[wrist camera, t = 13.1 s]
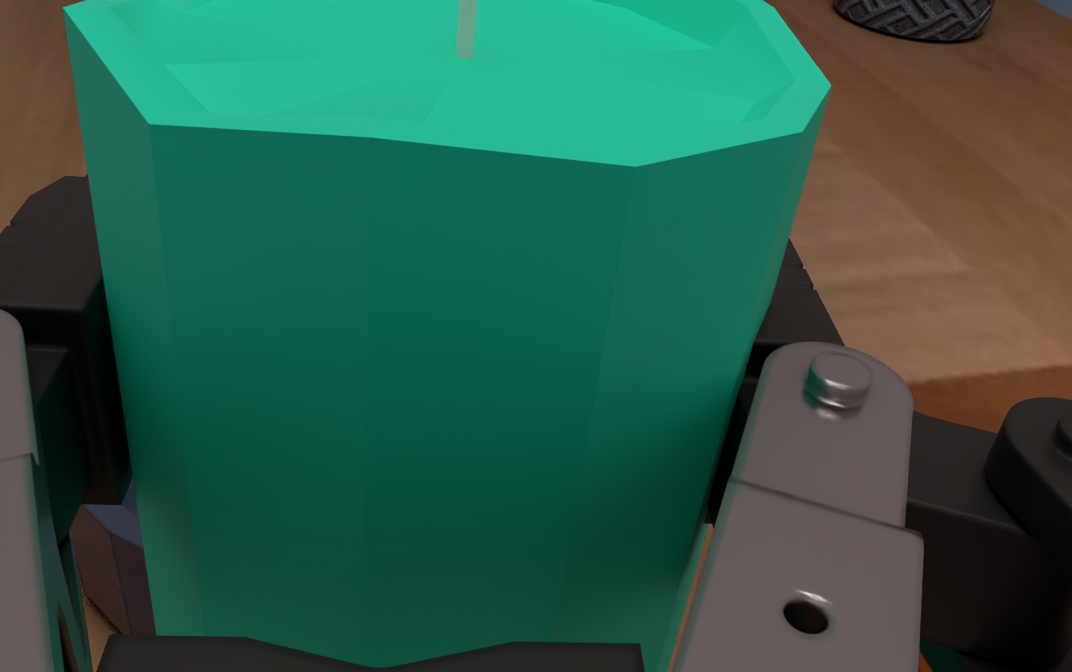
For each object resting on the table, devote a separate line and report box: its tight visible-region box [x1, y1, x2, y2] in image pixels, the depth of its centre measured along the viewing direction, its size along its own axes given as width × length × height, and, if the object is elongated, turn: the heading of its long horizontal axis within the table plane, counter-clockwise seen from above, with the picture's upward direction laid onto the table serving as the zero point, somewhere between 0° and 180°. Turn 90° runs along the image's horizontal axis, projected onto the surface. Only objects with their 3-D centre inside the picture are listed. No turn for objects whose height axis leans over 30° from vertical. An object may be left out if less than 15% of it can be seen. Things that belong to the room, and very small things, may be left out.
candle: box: [63, 0, 831, 672], centre depth 11 cm, size 6×6×12 cm
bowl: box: [70, 477, 156, 635], centre depth 33 cm, size 19×19×5 cm
